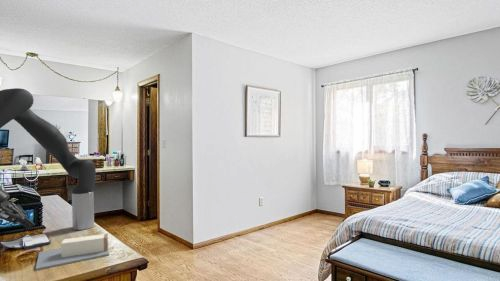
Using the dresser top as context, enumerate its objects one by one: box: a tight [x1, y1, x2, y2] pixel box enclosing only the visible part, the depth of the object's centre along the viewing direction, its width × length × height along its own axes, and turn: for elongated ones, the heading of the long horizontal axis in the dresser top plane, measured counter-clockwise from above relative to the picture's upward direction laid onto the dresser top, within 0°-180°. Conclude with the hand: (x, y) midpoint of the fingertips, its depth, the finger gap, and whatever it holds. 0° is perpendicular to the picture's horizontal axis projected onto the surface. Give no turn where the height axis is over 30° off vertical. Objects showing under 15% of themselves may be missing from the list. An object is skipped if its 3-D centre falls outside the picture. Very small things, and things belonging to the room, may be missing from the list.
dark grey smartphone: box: [22, 233, 52, 250], centre depth 124 cm, size 9×2×16 cm
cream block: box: [60, 233, 109, 257], centre depth 111 cm, size 5×5×15 cm
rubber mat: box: [35, 247, 110, 271], centre depth 110 cm, size 17×22×1 cm
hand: (32, 226), depth 104 cm, fingers closed
